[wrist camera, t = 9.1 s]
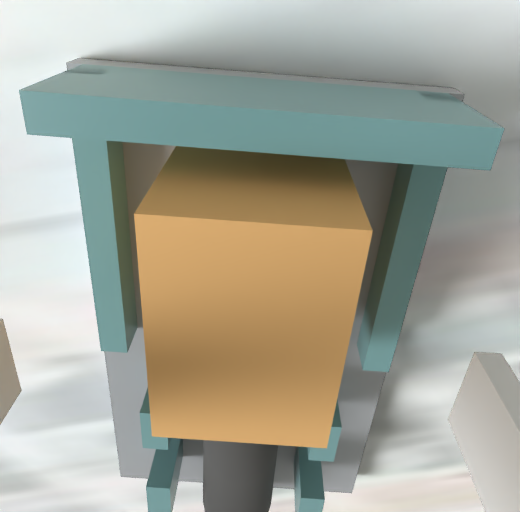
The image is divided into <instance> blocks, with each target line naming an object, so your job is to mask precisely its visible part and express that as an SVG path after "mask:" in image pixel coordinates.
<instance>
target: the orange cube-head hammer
mask: <svg viewBox="0 0 520 512" xmlns="http://www.w3.org/2000/svg"><path fill="white" fill-rule="evenodd" d="M134 220H135V232H136V245H137V257H138V270H139V282H140V294H141V307H142V319H143V332H144V344H145V356H146V369H147V381H148V394H149V406H150V418H151V431H152V437H167V438H181V439H196V440H203V503H204V508H205V512H268V511H269V508H270V505H271V498H272V490H273V482H274V475H275V467H276V459H277V451H278V445H284V446H299V447H313V448H327V445H328V441H329V436H330V431H331V426H332V422H333V417H334V412H335V407H336V403H337V398H338V393H339V388H340V384H341V379H342V374H343V370H344V365H345V360H346V355H347V351H348V346H349V341H350V336H351V332H352V327H353V322H354V317H355V313H356V308H357V303H358V298H359V294H360V289H361V284H362V279H363V275H364V270H365V265H366V261H367V256H368V251H369V246H370V242H371V237H372V232H373V230H372V228H371V225H370V222H369V220H368V217H367V215H366V212H365V210H364V207H363V205H362V202H361V200H360V197H359V194H358V192H357V189H356V187H355V184H354V182H353V179H352V177H351V174H350V172H349V169H348V167H347V164H346V161H345V159H337V158H324V157H311V156H298V155H286V154H273V153H260V152H247V151H234V150H221V149H209V148H196V147H183V146H176V147H175V149H174V150H173V152H172V153H171V155H170V157H169V158H168V160H167V161H166V163H165V165H164V166H163V168H162V169H161V171H160V173H159V174H158V176H157V178H156V179H155V181H154V182H153V184H152V186H151V187H150V189H149V190H148V192H147V194H146V195H145V197H144V198H143V200H142V202H141V203H140V205H139V207H138V208H137V210H136V211H135V213H134Z"/></svg>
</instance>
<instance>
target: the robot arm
mask: <svg viewBox="0 0 520 512" xmlns="http://www.w3.org/2000/svg"><path fill="white" fill-rule="evenodd" d="M20 392H21V387H20V383H19V379H18V375H17V372H16V368H15V364H14V360H13V356H12V352H11V348H10V345H9V341H8V337H7V333H6V329H5V325H4V322H3V319H0V424H1V423H2V421H3V419H4V418H5V416H6V415H7V413H8V411H9V410H10V408H11V407H12V405H13V403H14V402H15V400H16V399H17V397H18V395H19V394H20ZM448 421H449V424H450V426H451V429H452V431H453V433H454V436H455V438H456V441H457V443H458V446H459V448H460V451H461V453H462V456H463V458H464V460H465V463H466V465H467V468H468V470H469V473H470V475H471V478H472V480H473V483H474V485H475V487H476V490H477V492H478V495H479V497H480V500H481V502H482V505H483V507H484V510H485V512H520V382H519V380H518V379H517V377H516V375H515V374H514V372H513V371H512V369H511V367H510V366H509V364H508V363H507V361H506V360H505V358H504V356H503V355H502V354H500V353H486V352H474V355H473V357H472V360H471V362H470V365H469V367H468V370H467V372H466V375H465V377H464V380H463V382H462V385H461V387H460V390H459V392H458V395H457V398H456V400H455V403H454V405H453V408H452V410H451V413H450V415H449V418H448Z"/></svg>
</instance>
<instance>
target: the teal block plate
mask: <svg viewBox="0 0 520 512" xmlns="http://www.w3.org/2000/svg"><path fill="white" fill-rule="evenodd" d="M66 65H67V71H65V72H62V73H60V74H57V75H55V76H52V77H50V78H48V79H45V80H43V81H40V82H38V83H35V84H33V85H30V86H28V87H26V88H23V89H21V90H19V93H20V99H21V104H22V109H23V115H24V120H25V126H26V131H27V134H29V135H42V136H55V137H67V138H72V141H73V149H74V156H75V163H76V171H77V178H78V185H79V192H80V200H81V207H82V214H83V222H84V229H85V236H86V244H87V251H88V258H89V266H90V273H91V280H92V288H93V295H94V302H95V310H96V317H97V324H98V332H99V339H100V346H101V351H104V353H105V360H106V368H107V375H108V383H109V390H110V398H111V406H112V413H113V421H114V428H115V436H116V444H117V451H118V459H119V466H120V474H121V477H132V478H146V479H148V482H147V486H146V491H147V502H148V512H172V510H173V505H174V500H175V495H176V490H177V485H178V481H188V482H202V483H203V440H196V439H181V438H167V437H152V431H151V418H150V406H149V394H148V381H147V369H146V356H145V344H144V332H143V319H142V307H141V294H140V282H139V270H138V257H137V245H136V232H135V220H134V213H135V211H136V210H137V208H138V207H139V205H140V203H141V202H142V200H143V198H144V197H145V195H146V194H147V192H148V190H149V189H150V187H151V186H152V184H153V182H154V181H155V179H156V178H157V176H158V174H159V173H160V171H161V169H162V168H163V166H164V165H165V163H166V161H167V160H168V158H169V157H170V155H171V153H172V152H173V150H174V149H175V147H176V146H183V147H196V148H209V149H221V150H234V151H247V152H260V153H273V154H286V155H298V156H311V157H324V158H337V159H345V161H346V164H347V167H348V169H349V172H350V174H351V177H352V179H353V182H354V184H355V187H356V189H357V192H358V194H359V197H360V200H361V202H362V205H363V207H364V210H365V212H366V215H367V217H368V220H369V222H370V225H371V228H372V230H373V232H372V237H371V242H370V246H369V251H368V256H367V261H366V265H365V270H364V275H363V279H362V284H361V289H360V294H359V298H358V303H357V308H356V313H355V317H354V322H353V327H352V332H351V336H350V341H349V346H348V351H347V355H346V360H345V365H344V370H343V374H342V379H341V384H340V388H339V393H338V398H337V403H336V407H335V412H334V417H333V422H332V426H331V431H330V436H329V441H328V445H327V448H313V447H299V446H284V445H278V451H277V459H276V467H275V475H274V482H273V488H287V489H294V490H295V512H322V509H323V505H324V500H325V498H324V491H329V492H343V493H352V490H353V487H354V483H355V480H356V476H357V473H358V469H359V466H360V462H361V459H362V455H363V452H364V448H365V445H366V441H367V437H368V434H369V430H370V427H371V423H372V420H373V416H374V413H375V409H376V406H377V402H378V399H379V395H380V391H381V388H382V384H383V381H384V377H385V374H386V372H389V369H390V366H391V362H392V359H393V355H394V352H395V349H396V345H397V342H398V338H399V335H400V331H401V328H402V324H403V321H404V317H405V314H406V310H407V307H408V303H409V300H410V296H411V293H412V289H413V286H414V282H415V279H416V275H417V272H418V268H419V265H420V261H421V258H422V254H423V251H424V247H425V244H426V240H427V237H428V233H429V230H430V227H431V223H432V220H433V216H434V213H435V209H436V206H437V202H438V199H439V195H440V192H441V188H442V185H443V181H444V178H445V174H446V171H447V167H452V168H465V169H478V170H491V167H492V164H493V161H494V158H495V155H496V152H497V149H498V146H499V143H500V140H501V137H502V134H503V131H504V128H503V127H501V126H500V125H498V124H497V123H495V122H493V121H492V120H490V119H489V118H487V117H485V116H484V115H482V114H481V113H479V112H478V111H476V110H474V109H473V108H471V107H470V106H468V105H466V104H465V103H463V98H464V94H463V93H461V92H460V91H458V90H456V89H454V88H448V87H435V86H422V85H410V84H397V83H385V82H372V81H360V80H347V79H334V78H322V77H309V76H297V75H284V74H272V73H259V72H246V71H234V70H221V69H209V68H196V67H184V66H171V65H158V64H146V63H133V62H121V61H108V60H96V59H83V58H78V59H75V60H72V61H69V62H67V63H66Z"/></svg>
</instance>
